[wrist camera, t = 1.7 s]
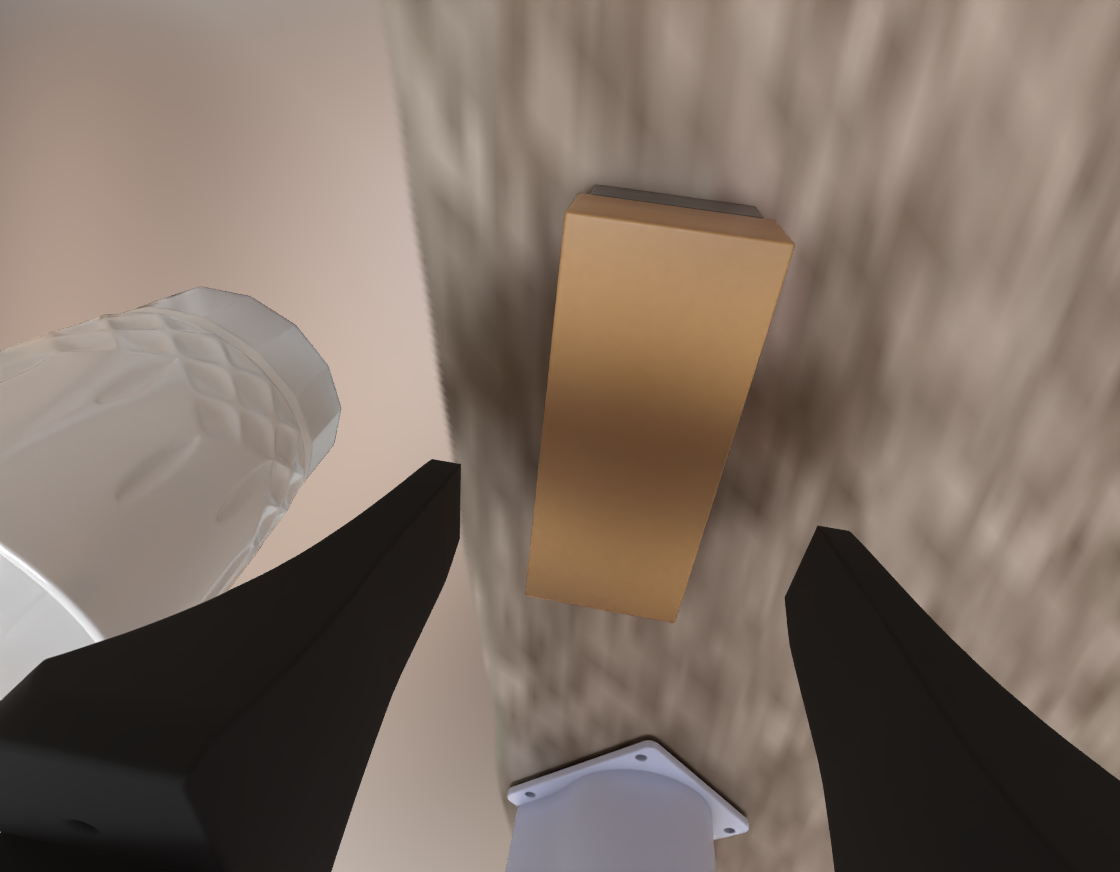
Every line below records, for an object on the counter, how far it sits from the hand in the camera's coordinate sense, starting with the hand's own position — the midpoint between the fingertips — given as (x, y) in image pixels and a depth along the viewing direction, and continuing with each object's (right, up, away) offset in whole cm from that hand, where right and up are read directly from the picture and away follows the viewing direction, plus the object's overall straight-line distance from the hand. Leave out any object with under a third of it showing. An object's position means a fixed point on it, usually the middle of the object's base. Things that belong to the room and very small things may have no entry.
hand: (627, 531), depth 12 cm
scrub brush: (+1, +3, +5) cm, 6 cm away
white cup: (-12, +4, +7) cm, 14 cm away
